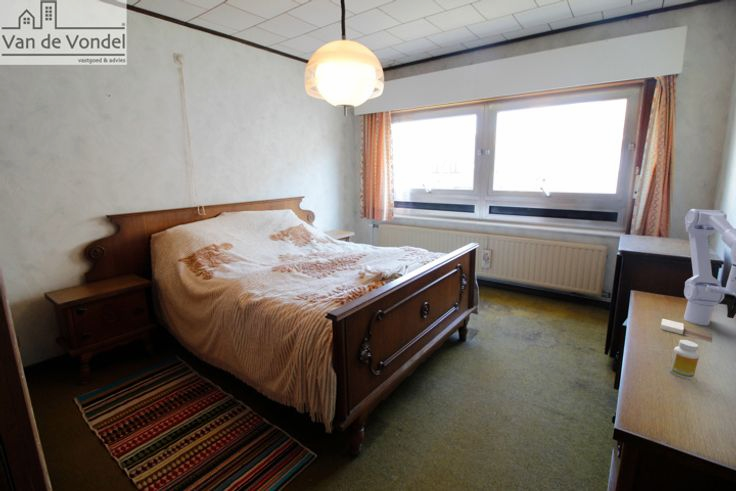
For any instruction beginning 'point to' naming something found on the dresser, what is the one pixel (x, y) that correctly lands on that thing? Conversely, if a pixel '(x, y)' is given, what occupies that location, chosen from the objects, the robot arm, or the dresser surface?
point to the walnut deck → (698, 335)
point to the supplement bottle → (684, 359)
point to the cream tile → (672, 326)
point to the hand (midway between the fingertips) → (730, 317)
